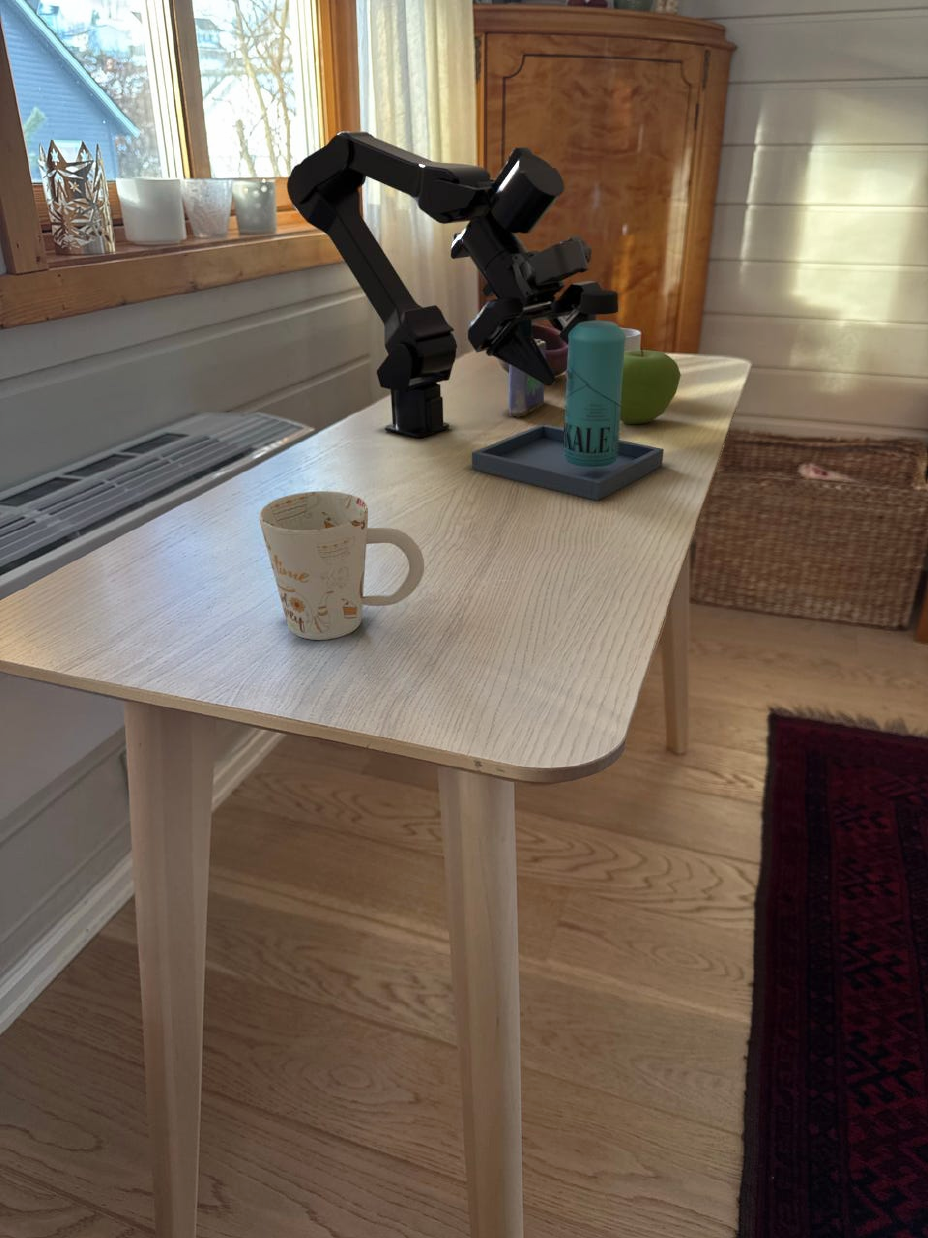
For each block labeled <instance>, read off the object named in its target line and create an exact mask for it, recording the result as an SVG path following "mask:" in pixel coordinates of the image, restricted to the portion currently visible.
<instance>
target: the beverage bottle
mask: <svg viewBox="0 0 928 1238" xmlns="http://www.w3.org/2000/svg"><path fill="white" fill-rule="evenodd" d="M579 312H581V313H585V314H597V316H598V315H612V314H616V313H618V312H619V295H618V292H617V291H615V290H610V289H602V290H587V291H583V292H582V294H581V300H580V305H579ZM621 328H622V327H620V326H619V325H618V324H617V323H616V322H614V321H608V320H595V321H585V322H581V323H579V324H577V325H576V326H575V327H574V328H573V329H572V330H571V331H570V333H569V335H568V338H569V347H568V360H567V359H566V360H567V362H568V365H567V367H566V369H567V370H566V371H565V376H566V378H565V384H564V386H565V392H564V393H565V394H566V395H565V397H564V399H565V404H564V408H563V410H564V412H563V413H564V425H563V428H564V431H563V432H564V433H565V441H564V433H563V442H564V445H563V446H564V449H563V450H564V453H563V454H564V456H565V460H566V461H567V462H569V463H571V464H574V465H578V466H584V467H601V466H607V465H610V464H612V463H614V462H615V461H616V459H617V456H618V455H619V454H618V448H619V447H618V443H619V440H620V439H621V436H620V430H621V428H620V426H621V420H620V410H621V409H622V408H621V391H622V377H623V363H624V349H625V340H626V334H625V332H624V331H623V330H622V329H621ZM566 357H567V356H566ZM621 416H622V415H621Z"/></svg>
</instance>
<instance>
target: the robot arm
mask: <svg viewBox="0 0 928 1238" xmlns="http://www.w3.org/2000/svg"><path fill="white" fill-rule="evenodd" d="M367 178H370V179H371V180H374V181H376V182H378V183H381V184H383V185H385V186H388V187H390V188H392V189H395V190H397V191H399V192H401V193H404V194H406V195H408V196H409V197H410V198H412V199H413V200H414V201H415V203H416V205H417V207H418V208H419V210H420V211H422V212H423V213H425V215H427V216H429V217H430V218H431V219H433V220H434V221H436V222H437V223H439V224H441V225H445V224H446V225H448V224H455V223H465V222H468V223H467V225H466V226H465V228H464V229H463V230H462V232H456V233H453V234H452V240H453V241H452V245H451V248H450V258H451V259H453V260H457V259H464V258H470V259H471V261H472V263H473V264H474V265H475V267H476V269H477V270H478V272H479V273H480V275H481V276H482V278H483V279H484V281H485V283H486V284H485V285H484V287H483V288H482V289H481V290H482V292H483V294H484V295H485V297H486V298H490V297H495V299H489V300H488V301H487V302H486V303H485V305H484V306H482V308H481V310H480V311H479V312H478V313H477V315H476V316H475V317H474V318H473V319H472V320H471V322H470V324H468V326H467V340H468V342H469V343H470V345H471V346H472V349H474V351H475V352H476V353H481V352H485V355H486V356H488V357H494V358H496V359H497V358H498V359H500V360H502V361H504V362H506V363H508V364H510V365H512V366H514V367H516V368H517V369H519V370H521V371H523V372H524V373H526V374H528V375H529V376H531V377H533V378H534V379H536V380H538V381H539V382H541V383H543V384H544V386H546V387H548V388H549V387H551V386H553V385H554V384H555V383H556V376H555V377H554V375H553V373H552V371H551V369H550V367H549V365H548V363H547V361H546V360H545V358H544V356H543V354H542V352H541V351H540V349H539V347H538V345H537V343H536V342H535V340H534V338H533V335H532V324H537V323H540V322H541V323H542V322H544V321H549V323H550V324H551V326H552V328H553V329H555V330H558V331H560V333H559V334H558V336H559V337H560V338H561V339H562V340H563V341H564V342H565V343H566V344H567V345H569V338H568V335H569V333H570V331H571V330H572V329H573V328H574V327H575V326H576V325H577V324H579V323H581V322H585V321H597V320H596V319H597V316H598V314H585V313H581V312H579V305H580V300H581V294H582V292H583V291H587V290H603V288H602V287H601V285H600V284H599V282H598V281H593V280H585V281H580V282H574V283H571V284H570V285H569V286H568V287H567V288H566V289H565V290H564V291H563V293H562V294H561V295H560V296H559V297H558V298H557V299H556V296H555V295H556V294H557V293H560V292H561V291H562V290H563V288H564V287H565V286H566V284H565V283H564V280H566V279H568V278H570V277H572V276H574V275H576V274H579V273H580V274H583V273H585V272H587V271H588V270H589V264H590V262H591V260H592V251H593V250H592V248H591V247H590V246H588V244H587V242H586V240H584V239H583V238H582V237H581V236H580V235H572V236H569V237H568V239H566V240H562V241H560V242H558V243H555V244H552V245H551V246H549V247H547V248H545V249H543V250H541V251H539V250H532V251H528V249H527V248H526V246H525V245H524V243H523V241H522V240H521V239H520V237H519V235H518V234H526V235H528V234H530V233H532V232H533V231H534V230H535V229H536V227H537V226H538V225H539V224H540V222H541V221H542V220H543V219H544V217H545V216H546V215H547V213H548V212H549V211H550V210H551V208H552V207H553V206H554V205H555V203H556V202H557V201H558V199H559V198H560V197H561V196H562V194H563V192H565V181H564V179H563V177H562V175H561V173H560V172H559V170H558V169H557V168H556V167H553V166H552V165H551V164H549V162H547V161H546V160H545V159H543V158H542V157H540V156H537V155H536V154H533V152H532V150H531V149H530V148H529V146H522V147H521V146H520V147H518V146H517V147H514V148H513V150H512V151H511V153H510V155H509V156H508V158H507V161H506V163H505V164H504V166H503V167H502V169H501V170H500V172H499V173H498V175H497V176H496V177H495V178H491V174H490V173H489V172H488V170H487V169H485V168H484V167H482V166H479V165H471V164H464V163H455V162H453V163H452V162H440V161H439V162H438V161H433V160H430V159H428V158H426V157H423V156H421V155H418V154H416V153H413V152H411V151H408V150H406V149H404V148H401V147H399V146H396V145H394V144H391V143H389V142H386V141H384V140H381V139H379V138H378V137H375V136H374V135H372V134H371V133H369V132H368V131H341V132H339V133H337V134H336V135H334V136H333V137H332V138H331V139H330V140H329V141H328V143H327V144H326V145H324V146H322V147H321V148H319V149H318V150H315V152H313V153H311V154H310V155H308V156H307V157H305V158H304V159H302V161H301V162H300V163H298V164H296V165H294V167H293V168H292V169H291V172H290V174H289V176H288V179H287V182H286V191H287V195H288V198H289V200H290V202H291V205H292V206H293V207H294V208H295V209H296V211H297V212H298V213H299V214H300V215H301V217H302V218H303V219H304V220H305V222H306V223H308V224H310V226H312V227H314V228H315V229H317V230H319V231H320V232H322V233H324V234H325V235H327V236H328V237H329V238H330V240H331V242H332V243H333V245H334V247H335V248H336V250H337V251H338V253H339V254H340V256H341V257H342V260H343V261H344V262H345V264H346V266H347V267H348V269H349V270H350V272H351V274H352V275H353V277H354V279H355V280H356V281H357V283H358V285H359V286H360V288H361V289H362V292H363V293H364V295H365V296H366V298H367V299H368V300H369V303H370V304H371V306H372V307H373V308H374V310H375V312H376V313H377V315H378V317H379V318H380V320H381V321H382V323H383V330H384V331H383V336H384V337H383V339H384V340H383V341H384V348H385V350H386V352H387V356H386V357H385V359H384V360H383V361H382V363H381V364H380V366H379V367H378V368H377V370H376V376H377V379H378V383H379V386H380V387H381V388H383V389H388V390H390V402H391V420H392V421H391V424H387V425H385V426H384V430H385V431H387V432H392V433H395V434H399V435H403V436H408V437H412V438H417V439H422V438H423V437H426V436H428V435H431V434H434V433H437V432H440V431H444V430H446V429H448V428H450V422H449V423H448V422H445V421H444V399H443V396H442V394H441V393H442V392H441V384H440V383H441V382H447V381H450V378H451V374H452V371H453V366H454V364H455V361H456V358H457V348H458V343H457V341H456V338H455V335H454V334H453V332H454V331H455V329H454V328H453V327H452V326H451V325H450V324H449V322H448V321H447V320H446V318H445V316H444V314H443V312H442V310H441V309H440V308H439V306H438V305H436V304H434V305H428V306H422V305H420V304H418V303H417V301H416V300H414V298H413V296H412V294H411V293H410V291H409V289H408V288H407V286H406V285H405V283H404V281H403V280H402V279H401V277H400V275H399V274H398V272H397V271H396V269H395V267H394V266H393V264H392V262H391V261H390V259H389V258H388V256H387V255H386V253H385V252H384V250H383V248H382V247H381V245H380V243H379V242H378V241H377V238H376V237H375V236H374V234H373V233H372V231H371V230H370V228H369V226H368V225H367V223H366V221H365V220H364V218H363V217H362V215H361V193H360V191H359V189H361V188H362V186H364V184H365V183H366V181H367V180H366V179H367Z"/></svg>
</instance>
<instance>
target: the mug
mask: <svg viewBox="0 0 928 1238" xmlns="http://www.w3.org/2000/svg"><path fill="white" fill-rule="evenodd" d="M258 517H259V523H260V528H261V529H260V530H261V532H262V535H263V539H264V544H265V547H266V550H267V554H268V558H269V562H270V565H271V568H272V572H273V576H274V579H275V583H276V586H277V590H278V594H279V599H280V601H281V606H282V609H283V612H284V617H285V619H286V623H287V626H288V628H289V630H290V632H292V633H293V634H294V635H295V636H298V637H299V638H302V639H306V640H312V641H313V640H314V641H327V640H333V639H337V638H341V637H344V636H346V635H349V634H350V633H352V632H354V631H356V630H357V629H358V628H359V626H360V624H361V621H362V617H363V606H367V607H368V606H369V607H384V606H392V605H396V604H398V603H399V602H401V601H404V599H406V598H408V597H409V596H410V595H411V594H412V593H413V592H414V591H415V590H416V589H417V587H419V585H420V583H421V581H422V579H423V576H424V574H425V559H424V555H423V552H422V550H421V547H419V545H418V544H417V542H416V541H415V540H414V539H413V538H412V537H411V536H410V535H408V534H407V533H406V532H405V531H403V530H401V529H398V528H391V527H368V524H369V509H368V505H367V503H366V502H365V501H364V500H363V499H361V498H360V497H358V496H356V495H353V494H350V493H345V492H340V491H327V490H321V491H306V492H304V491H303V492H298V493H293V494H288V495H285V496H281V497H279V498H277V499H274V500H272V501H271V502H269V503H267V504H266V505H264V506H263V507H262V509H261V510H260V512H259V516H258ZM373 544H392V545H394V546H396V547H397V548H398V549H400V550H401V552H402V553H403V554H404V555H405V557H406V558H407V559H406V560H407V562H408V572H407V574H406V577H405V579H404V580H403V582H402V584H400V586H399V587H398V588H397V589H396V590H395V591H393V592H392V593H390V594H374V595H373V594H372V595H371V594H370V595H364V588H365V586H364V585H365V570H366V555H367V545H373Z"/></svg>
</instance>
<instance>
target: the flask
mask: <svg viewBox="0 0 928 1238" xmlns="http://www.w3.org/2000/svg"><path fill="white" fill-rule="evenodd" d="M534 340H535V342H536V343H537V345H538V347H539V349H540V351H541V352H542V354H543V356H544V358H545V360H546V342H545V341H541V339H538V340H536V339H534ZM508 377H509V378H508V409H507V410H508V411H507V412H508V416H510V417H517V418H519V417H521V416H522V417H523V416H526V415H527V414H528V413H531V412H533V411H535V409H537V408H538V407H541V406H542V405H544V404H545V385H544V384H543V383H541V382H539V381H538V380H536V379H534V378H533V377H531V376H529V375H528V374H526V373H524V372H523V371H521V370H519V369H517V368H516V367H514V366H512V365H510V364H509V373H508Z"/></svg>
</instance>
